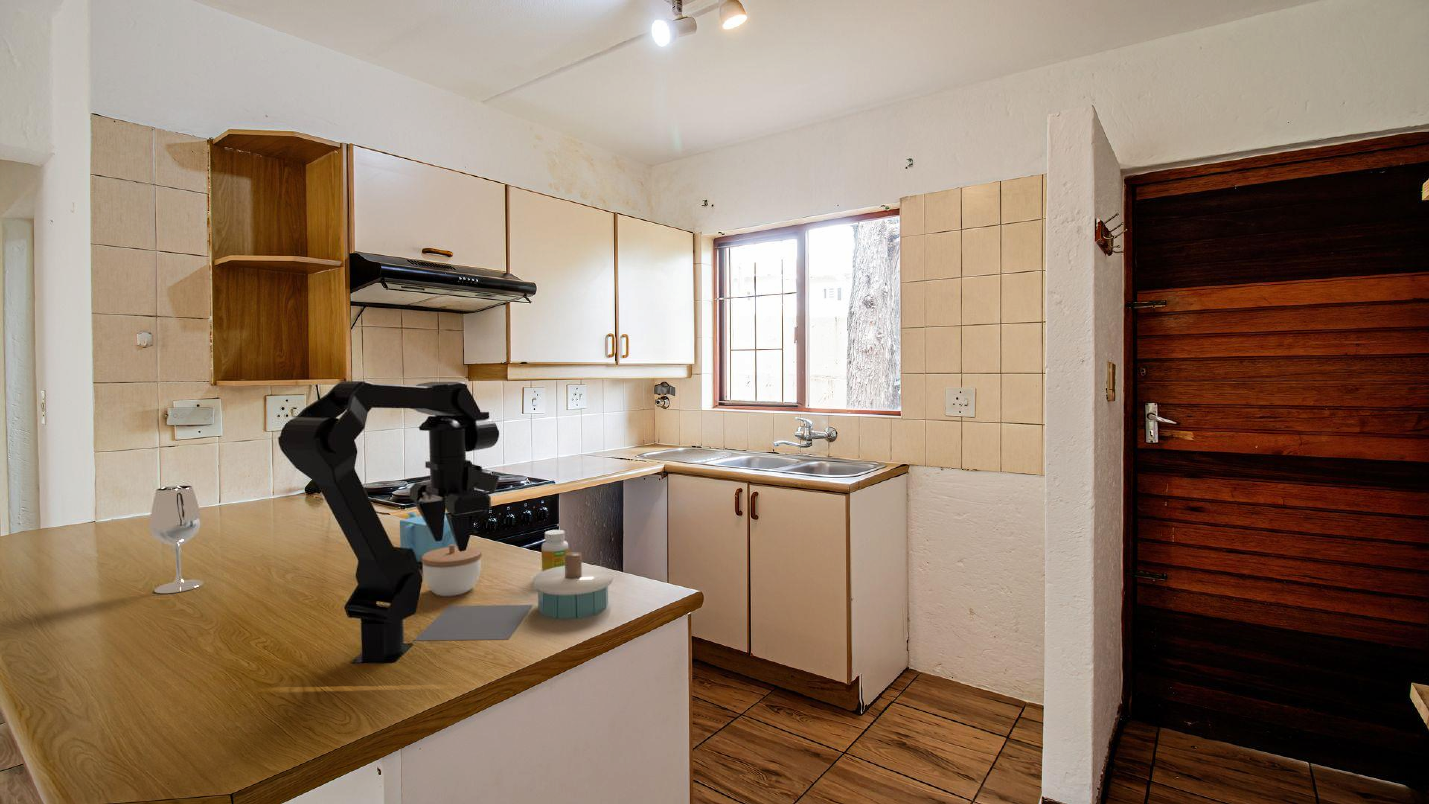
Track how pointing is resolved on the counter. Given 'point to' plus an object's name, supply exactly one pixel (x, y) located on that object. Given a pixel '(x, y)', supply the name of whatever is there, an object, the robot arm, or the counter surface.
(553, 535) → the supplement bottle
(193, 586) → the wineglass
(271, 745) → the counter surface
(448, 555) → the lidded jar
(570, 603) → the bowl
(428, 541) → the teapot
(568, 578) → the lid
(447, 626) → the mat
